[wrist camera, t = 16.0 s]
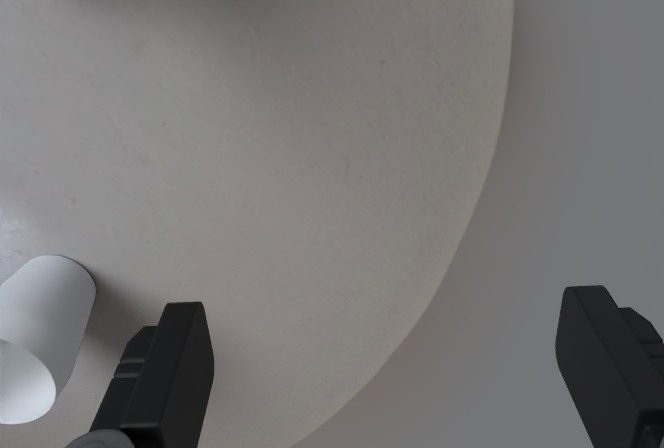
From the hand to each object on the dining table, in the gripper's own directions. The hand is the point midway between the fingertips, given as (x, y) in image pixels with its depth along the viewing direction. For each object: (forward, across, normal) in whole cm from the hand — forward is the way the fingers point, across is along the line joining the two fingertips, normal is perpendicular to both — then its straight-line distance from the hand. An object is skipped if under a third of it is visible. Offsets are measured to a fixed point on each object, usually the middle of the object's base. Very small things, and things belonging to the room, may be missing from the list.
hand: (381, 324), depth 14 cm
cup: (+34, +27, +22) cm, 49 cm away
